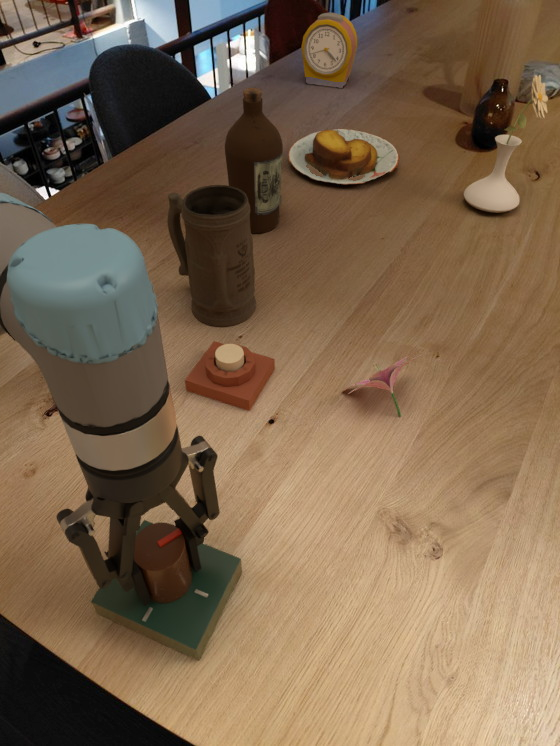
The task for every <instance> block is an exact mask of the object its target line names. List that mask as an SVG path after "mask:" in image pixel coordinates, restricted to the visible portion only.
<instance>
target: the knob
mask: <svg viewBox="0 0 560 746" xmlns="http://www.w3.org/2000/svg"><path fill="white" fill-rule="evenodd" d="M133 559H134V561H135V563H136V564H137V566H138V568H139V569H140V571H141V573H142V576H143V579H144V582H145V584H146V587H147V590H148V593H149V596H150V598H151V599H152V600H154V601H156V602H159V603H170V602H173V601H176V600H178V599H179V598H181V597H182V596H183V595H184V594H185V593H186V592H187V591H188V589H189V587H190V585H191V582H192V571H191V566H190V562H189V557H188V553H187V548H186V544H185V539H184V536H183V534H182V532H181V530H180V529H179V528H177V527H176V526H175V524H172V523H169V522H155V523H153V524H151V525H149V526H147V527H145V528H144V529H142V530H141V531H140V532H139V533H138V534H137V536H136V538H135V548H134V557H133Z"/></svg>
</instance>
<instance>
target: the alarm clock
mask: <svg viewBox="0 0 560 746" xmlns="http://www.w3.org/2000/svg"><path fill="white" fill-rule="evenodd" d="M357 49H358V34H357V31H356V29H355V26H354V25H353V23H352V21H350V20H349V19H348V18H347V17H346V16H345V15H342V14H339V13H336V12H324V13H321V14H320V15H318V16H317V19H316V20H314V22H313V23H312V24H311V25H309V27H308V28H307V30H306V31H305V33H304V34H303V37H302V42H301V54H302V65H303V71H304V72H303V73H304V78H305V77H313V78H318V79H323V80H328V81H333V82H345V81H346V79H347V78H348V76H349V75H350V76H351V72H352V68H353V66H354V65H353V64H354V61H355V56H356V53H357Z"/></svg>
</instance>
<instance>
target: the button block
mask: <svg viewBox="0 0 560 746" xmlns="http://www.w3.org/2000/svg"><path fill="white" fill-rule="evenodd" d="M224 344H225V343H222V342H219V341H215V340H213V341H212V343H211V344H210V346H209V347H208V348H207V349H206V351H205V352H204V353H203V355H202V356H201V357H200V359H199V360H198V362H197V363H196V365H195V366H194V367H193V368H192V369H191V371H190V372H189V374H188V375H187V376H186V377H185V378H184V384H185V390H186V391H187V392H189V393H193V394H194V395H195V394H196V395H198V396H202V397H205V398H208V399H211V400H214V401H217V402H221V403H224V404H226V405H229V406H231V407H232V406H233V407H236V408H239V409H242V410H244V411H245V410H246V411H248V412H250V411H251V409H252V408H253V406H254V404H255V403H256V401H257V400H258V398H259V396H260V395H261V393H262V392H263V390H264V388H265V386H266V385H267V383H268V381H269V379H270V378H271V377H272V375H273V373H274V371H275V370H276V368H275V366H276V364H275V360H276V359H275V358H273V357H269V356H266V355H262V354H259V353H255V352H252V351H251V350H250V349H249V348H248V347H247V346H244V345H240V344H237V343H235V344H236V345H238V346H240V347H241V348H242V349H243V351H244V364H243V366H242V367H241V368H240V369H239V370H237V371H232V372H225V371H222V370H220V369H219V368H218V367H217V365H216V359H215V352H216V350H217V348H219V347H220V346H222V345H224Z"/></svg>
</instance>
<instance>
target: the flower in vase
mask: <svg viewBox="0 0 560 746" xmlns="http://www.w3.org/2000/svg"><path fill="white" fill-rule="evenodd" d="M530 91H531V99H530V100H529V101H528V102H527V103H526V104H525V106H523V108H522V110H520V112H519V114H518V116H517V118H516V120H515V122H514V124H513V125H512V124H510V125H509V126H508V127H507V128H503V130H504V131H507V132H510V133H509V134H498V135H497V136H495V137H494V141H495V142H496V146H497V154H496V158H495V159H496V160H495V164H494V167H493V170H492V172H491V173H490V174H489V175H487V176H485V177H483V178H480V179H478V180H476V181H474V182H472V183H471V184H469V185H468V186H467V187H466V188H465V189H464V191H463V197H464V199H465V201H466V203H467V204H469V205H470V206H471V207H473V208H475V209H477V210H480V211H483V212H487V213H496V214H497V213H498V214H499V213H507V212H510V211H513V210H514V209H515V208H517V207H518V206H519V205H520V201H521V200H520V195H519V193H518V192H517V190H516V188H515V187H514V186H513V185H512V184H511V182H509V180H508V179H507V178H506V169H507V166H508V163H509V160H510V158H511V156H512V154H513V152H514V151H515V150H516V149H517V148H518V147H519V146H520V145H521V144H522V142H523V141H522V139H521V138H519V137H518V136H515V135H513V132H515V131H518V130H519V129H525V127H526V126H527V116H526V115H525V114H523V113H524V111H525V110H526V109H527V108H528V107H529V106H530V104H531V103H532V108H533V111H534V113H535V117H536V118H538V119H539V120H545V114H548V104H547V102H548V101H549V96H548V95H547V94H546V93H547V92H546V82H542V76H541V74H539V75H537V74H535V75H534V76H533V78H532V83H531V90H530ZM516 125H518V127H519V128H517V127H516Z"/></svg>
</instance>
